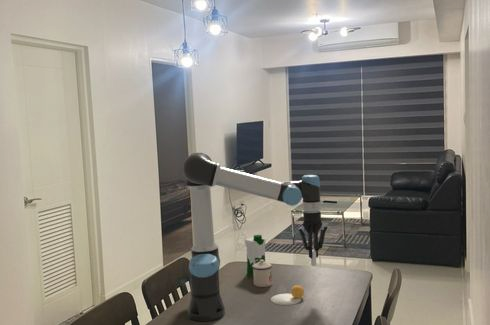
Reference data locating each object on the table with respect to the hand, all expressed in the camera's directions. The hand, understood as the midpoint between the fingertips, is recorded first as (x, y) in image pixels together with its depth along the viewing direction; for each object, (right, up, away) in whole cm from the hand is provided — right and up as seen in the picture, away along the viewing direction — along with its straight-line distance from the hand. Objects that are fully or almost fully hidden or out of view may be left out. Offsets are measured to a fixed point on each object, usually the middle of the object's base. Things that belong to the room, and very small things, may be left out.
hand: (313, 264), depth 218 cm
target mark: (-12, -15, -1) cm, 19 cm away
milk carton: (-24, -12, +35) cm, 44 cm away
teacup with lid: (-21, -13, +22) cm, 33 cm away
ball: (-7, -12, 0) cm, 14 cm away
